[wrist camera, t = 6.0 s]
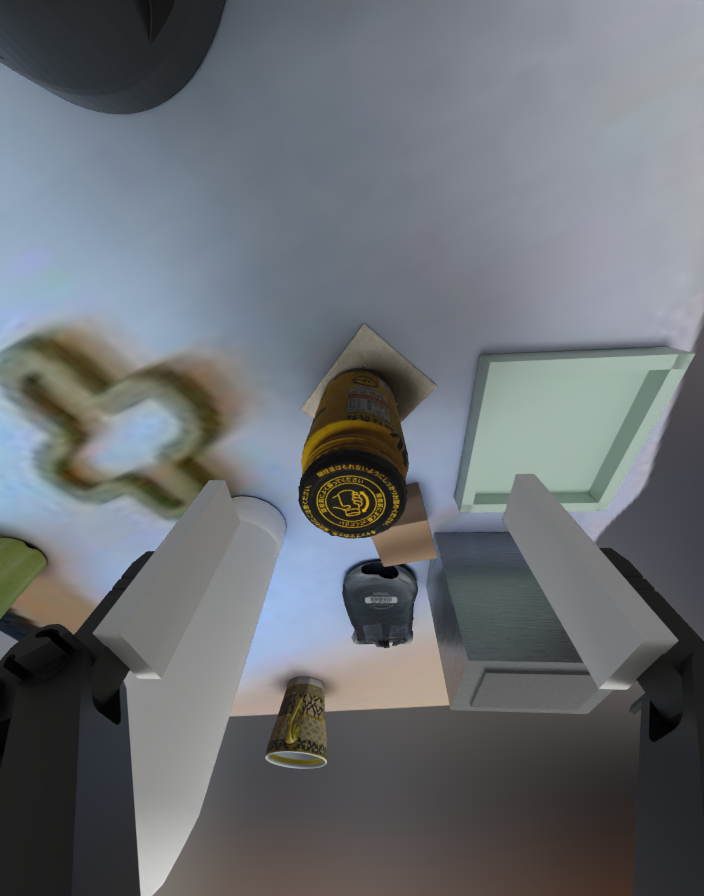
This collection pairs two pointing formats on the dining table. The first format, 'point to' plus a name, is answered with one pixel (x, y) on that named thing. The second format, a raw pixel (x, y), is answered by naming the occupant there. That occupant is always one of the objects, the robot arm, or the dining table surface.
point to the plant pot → (17, 570)
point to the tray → (563, 422)
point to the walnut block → (407, 534)
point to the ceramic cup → (300, 727)
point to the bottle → (197, 694)
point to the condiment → (360, 439)
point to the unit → (501, 631)
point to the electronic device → (380, 606)
